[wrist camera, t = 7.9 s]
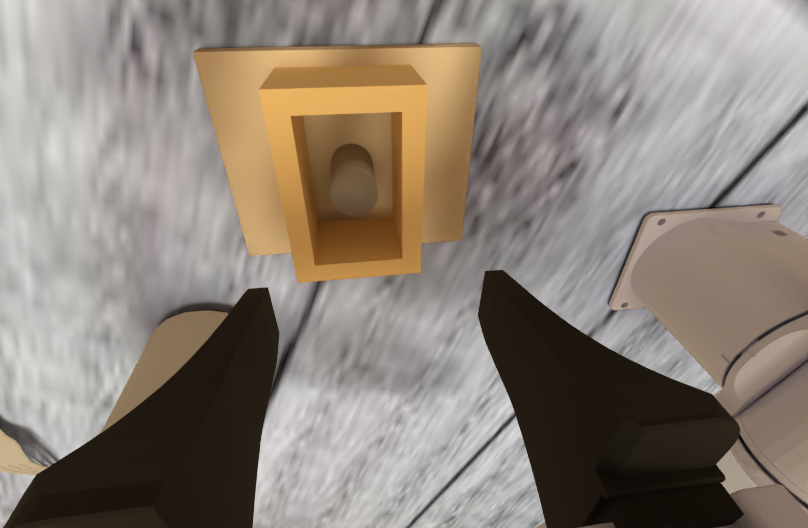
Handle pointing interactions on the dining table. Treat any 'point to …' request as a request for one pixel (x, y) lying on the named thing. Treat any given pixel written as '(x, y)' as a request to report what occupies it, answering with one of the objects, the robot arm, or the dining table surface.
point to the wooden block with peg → (342, 137)
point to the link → (309, 239)
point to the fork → (16, 458)
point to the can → (165, 356)
